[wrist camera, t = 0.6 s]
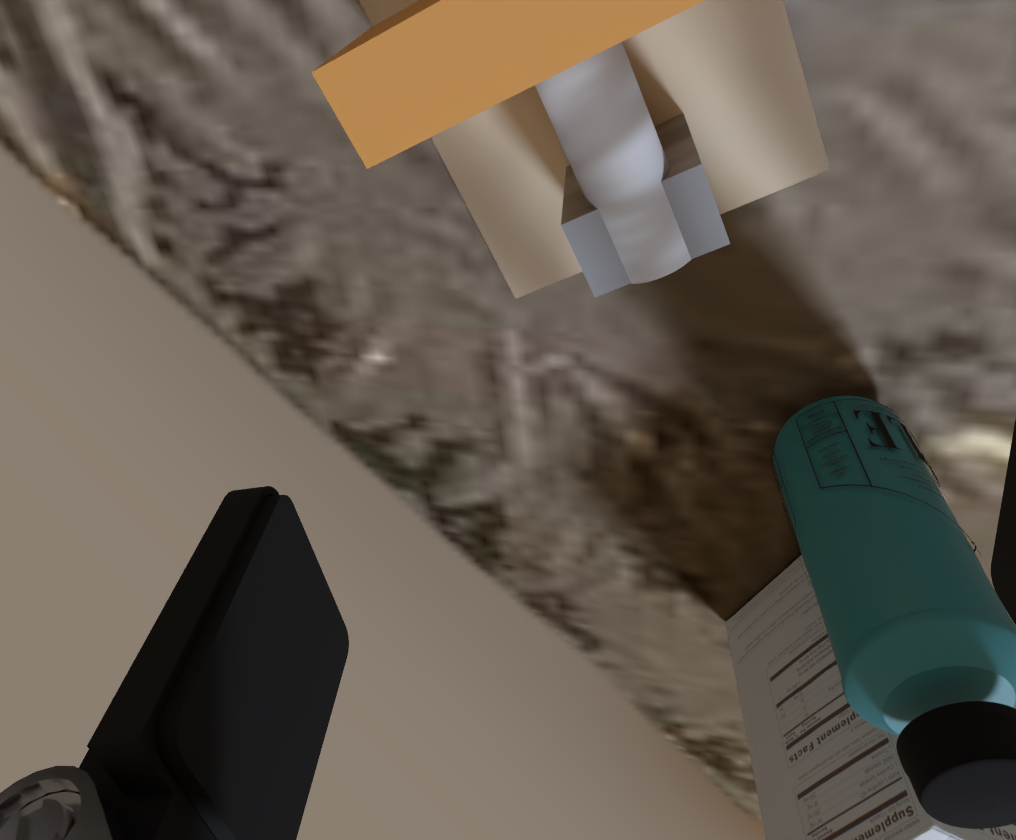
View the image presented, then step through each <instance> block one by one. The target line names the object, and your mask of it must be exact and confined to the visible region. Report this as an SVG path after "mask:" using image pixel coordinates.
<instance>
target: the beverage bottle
mask: <svg viewBox="0 0 1016 840" xmlns="http://www.w3.org/2000/svg"><path fill="white" fill-rule="evenodd" d="M887 408H888V407H887ZM887 408H886V406H885V407H884V405H882V404H879V403H877V402H875V401H873V400H871V399H868V398H864V397H859V396H834V397H830V398H826V399H822V400H819V401H817V402H814V403H812V404H810V405H808V406H806V407H804V408H802V409H801V410H799V411H798V412H797V413H795V414H794V415H793V416H792V417H791V418H790V419H789V420H788V421H787V422H786V423H785V425H784V426H783V427H782V429H781V431H780V432H779V434H778V437H777V439H776V443H775V449H774V451H773V452H772V453H774V458H773V459H774V467H775V471H776V474H777V477H778V480H779V481H778V482H779V484H780V486H779V487H780V488H781V490H782V493H783V494H782V495H783V497H784V498H783V497H782V498H783V502H784V499H785V503H786V506H787V509H788V512H789V515H790V523H791V522H792V525H793V526H792V527H793V528H794V531H795V541H796V538H797V541H798V544H799V547H800V550H801V554H802V557H803V560H804V563H805V566H806V569H807V571H808V574H809V576H810V579H811V582H812V585H813V586H812V587H813V588H814V591H815V595H816V598H817V601H818V604H819V608H820V611H821V614H822V617H823V620H824V624H825V627H826V630H827V633H828V637H829V640H830V643H831V646H832V649H833V653H834V656H835V659H836V662H837V665H838V669H839V672H840V675H841V681H842V688H843V692H844V695H845V697H846V700H847V702H848V703H849V705H850V706H851V707H852V709H853V710H854V711H855V712H856V713H857V714H858V715H859V716H860V717H861V718H863V719H864V720H865V721H867V722H869V723H870V724H872V725H874V726H876V727H878V728H880V729H882V730H884V731H886V732H888V733H891V734H894V735H897V736H899V737H898V739H897V743H896V749H897V753H898V756H899V759H900V762H901V765H902V767H903V769H904V771H905V773H906V774H907V776H908V777H909V780H910V782H911V784H912V787H913V789H914V791H915V794H916V796H917V798H918V801H919V803H920V805H921V806H922V807H923V809H924V810H925V811H926V813H927V814H929V815H930V816H931V817H932V818H934V819H935V820H937V821H939V822H941V823H944V824H947V825H950V826H954V827H959V828H967V829H988V828H996V827H1002V826H1007V825H1011V824H1015V823H1016V709H1015V708H1016V627H1015V625H1014V623H1013V622H1012V620H1011V618H1010V616H1009V615H1008V613H1007V611H1006V609H1005V608H1004V606H1003V604H1002V602H1001V601H1000V599H999V597H998V595H997V594H996V591H995V590H994V588H993V587H992V585H991V583H990V581H989V580H988V578H987V576H986V574H985V572H984V570H983V568H982V566H981V564H980V562H979V560H978V558H977V556H976V554H975V553H974V552H975V550H976V549H977V548H976V545H974V544H975V543H974V542H972V540H971V539H970V540H971V542H972V543H974V544H973V545H974V546H975V549H974V551H973V549H972V547H971V545H970V544H969V542H968V540H967V538H966V536H965V535H964V533H965V532H964V533H963V531H962V529H961V528H960V526H959V524H958V522H957V521H956V519H955V517H954V515H953V514H952V512H951V510H950V508H949V506H948V505H947V503H946V501H945V499H944V498H943V496H942V494H941V493H942V492H940V490H939V489H938V487H937V485H936V483H937V482H936V481H935V480H934V479H933V478H932V476H933V475H932V476H931V475H930V474H931V473H929V471H928V469H927V468H926V466H925V464H924V462H925V463H926V464H927V462H928V461H927V462H926V460H925V459H924V456H922V454H923V453H922V454H921V453H920V451H919V449H917V447H918V446H917V447H916V445H915V442H913V440H912V437H913V435H912V434H911V435H912V437H911V436H910V435H909V433H908V431H907V429H906V427H905V426H904V425H903V424H902V423H901V422H900V420H901V419H900V418H899V417H898V416H896V415H895V414H894V413H892V412H891V411H890V410H889V409H890V408H889V409H887ZM892 411H893V410H892ZM895 413H896V412H895ZM896 414H897V413H896ZM899 419H900V420H899ZM903 421H904V420H903ZM906 426H907V425H906ZM908 429H909V428H908ZM910 433H911V432H910ZM913 439H914V437H913ZM915 441H916V440H915ZM916 443H917V442H916ZM919 448H920V447H919ZM923 455H924V454H923ZM771 460H772V456H771ZM924 460H925V461H924ZM923 461H924V462H923ZM928 464H929V463H928ZM928 464H927V465H928ZM928 466H930V465H928ZM771 468H773V465H772V466H771ZM929 468H930V469H932V468H931V467H929ZM773 470H774V469H773ZM931 471H932V472H933V470H931ZM933 474H934V472H933ZM773 476H774V475H773ZM934 476H935V477H936V475H935V474H934ZM934 476H933V477H934ZM935 477H934V478H935ZM936 480H937V481H938V479H937V477H936ZM934 481H935V482H936V483H935V482H934ZM775 482H776V481H775ZM938 482H939V481H938ZM777 484H778V483H777ZM777 484H776V485H777ZM937 484H939V483H937ZM939 487H940V485H939ZM777 489H778V486H777ZM778 492H779V494H780V491H779V489H778ZM783 502H782V503H783ZM783 504H784V503H783ZM783 504H782V505H783ZM783 508H784V507H783ZM785 509H786V507H785ZM785 511H786V512H787V510H785ZM786 516H787V515H786ZM787 519H788V518H787ZM789 527H790V530H791V532H792V530H793V528H792V529H791V525H789ZM791 534H793V533H791ZM965 534H966V533H965ZM966 535H967V534H966ZM795 541H794V542H795ZM795 545H796V544H795ZM796 547H797V546H796ZM978 552H979V551H978ZM798 555H799V554H798ZM980 555H981V554H980ZM799 558H800V557H799ZM800 561H801V560H800ZM984 562H985V561H984ZM801 566H802V565H801ZM988 570H989V569H988ZM803 571H804V570H803ZM804 573H805V572H804ZM805 575H806V574H805ZM806 577H807V576H806ZM807 579H808V578H807ZM808 581H809V580H808ZM810 584H811V583H810Z"/></svg>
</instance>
